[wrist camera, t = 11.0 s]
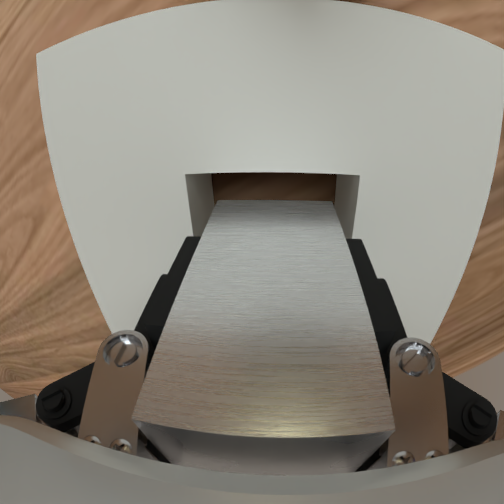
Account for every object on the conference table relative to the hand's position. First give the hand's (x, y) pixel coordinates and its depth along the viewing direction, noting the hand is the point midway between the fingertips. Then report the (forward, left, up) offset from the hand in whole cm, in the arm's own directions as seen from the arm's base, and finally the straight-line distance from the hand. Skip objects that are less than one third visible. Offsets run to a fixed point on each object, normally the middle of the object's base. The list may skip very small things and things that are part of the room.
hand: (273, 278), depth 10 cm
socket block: (0, 0, -6) cm, 6 cm away
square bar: (0, 0, -2) cm, 2 cm away
